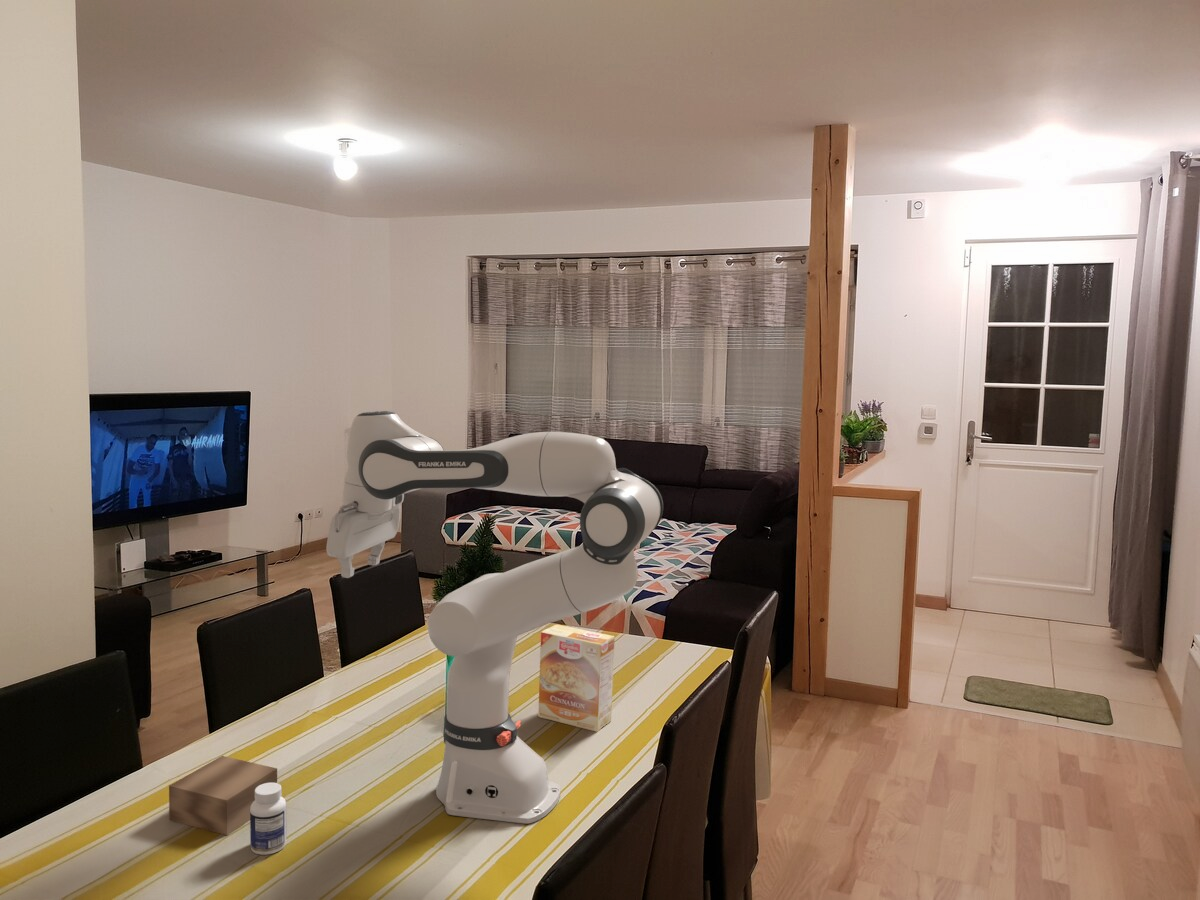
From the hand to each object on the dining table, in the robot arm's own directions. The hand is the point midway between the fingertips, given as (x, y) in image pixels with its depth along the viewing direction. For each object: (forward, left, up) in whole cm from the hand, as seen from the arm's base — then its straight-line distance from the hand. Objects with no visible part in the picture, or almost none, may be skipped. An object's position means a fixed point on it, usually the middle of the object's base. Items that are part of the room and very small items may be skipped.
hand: (360, 570), depth 163 cm
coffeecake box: (-29, -38, -39) cm, 62 cm away
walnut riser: (+12, +22, -39) cm, 46 cm away
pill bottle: (-2, +28, -39) cm, 48 cm away
